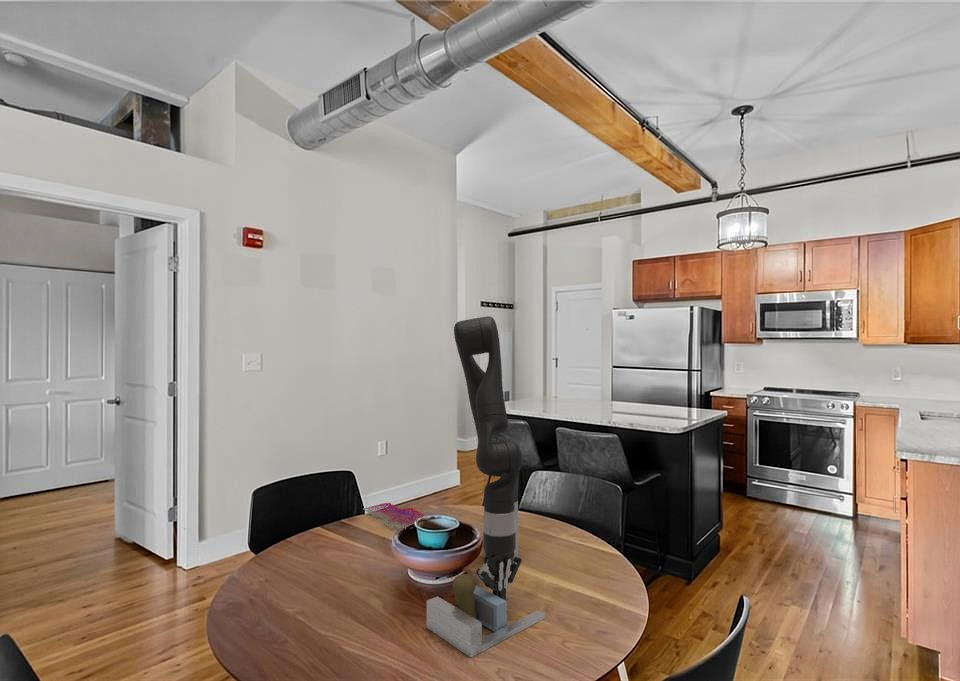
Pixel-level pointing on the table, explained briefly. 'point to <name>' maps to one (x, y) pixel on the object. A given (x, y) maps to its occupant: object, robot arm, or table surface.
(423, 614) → the table surface
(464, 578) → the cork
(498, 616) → the free jaw
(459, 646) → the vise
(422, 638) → the table surface
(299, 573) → the table surface
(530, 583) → the table surface
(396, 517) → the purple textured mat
